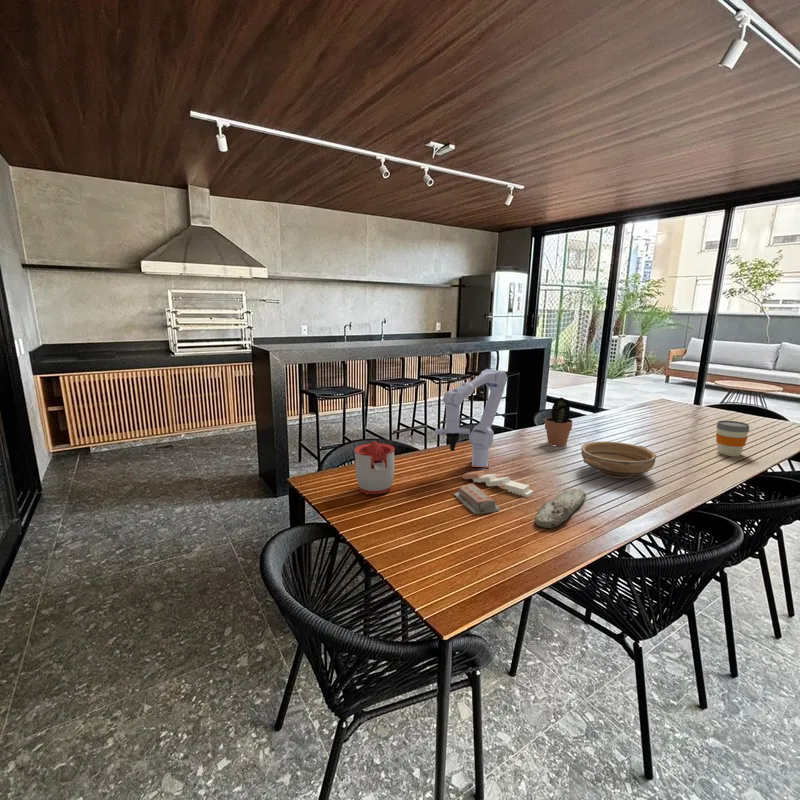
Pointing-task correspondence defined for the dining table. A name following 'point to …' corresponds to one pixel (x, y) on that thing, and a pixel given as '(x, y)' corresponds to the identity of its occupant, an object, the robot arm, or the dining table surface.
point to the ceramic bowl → (618, 458)
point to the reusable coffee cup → (731, 437)
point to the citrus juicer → (374, 467)
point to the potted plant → (559, 423)
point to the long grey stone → (559, 508)
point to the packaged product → (476, 499)
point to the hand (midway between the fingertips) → (452, 450)
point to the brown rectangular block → (473, 474)
